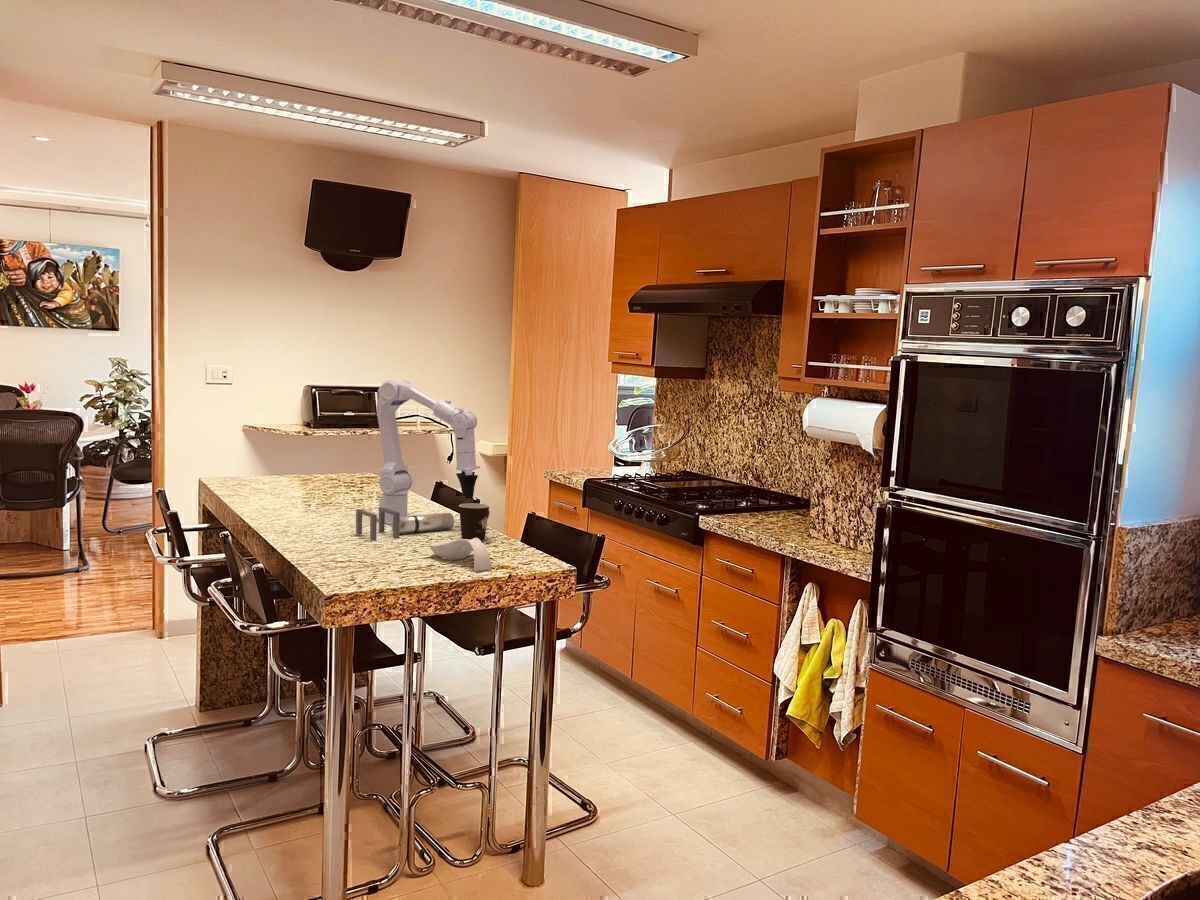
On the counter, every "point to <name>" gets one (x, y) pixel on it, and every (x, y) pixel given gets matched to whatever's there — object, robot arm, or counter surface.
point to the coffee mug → (473, 520)
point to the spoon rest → (464, 552)
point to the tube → (425, 523)
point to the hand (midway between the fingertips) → (467, 497)
